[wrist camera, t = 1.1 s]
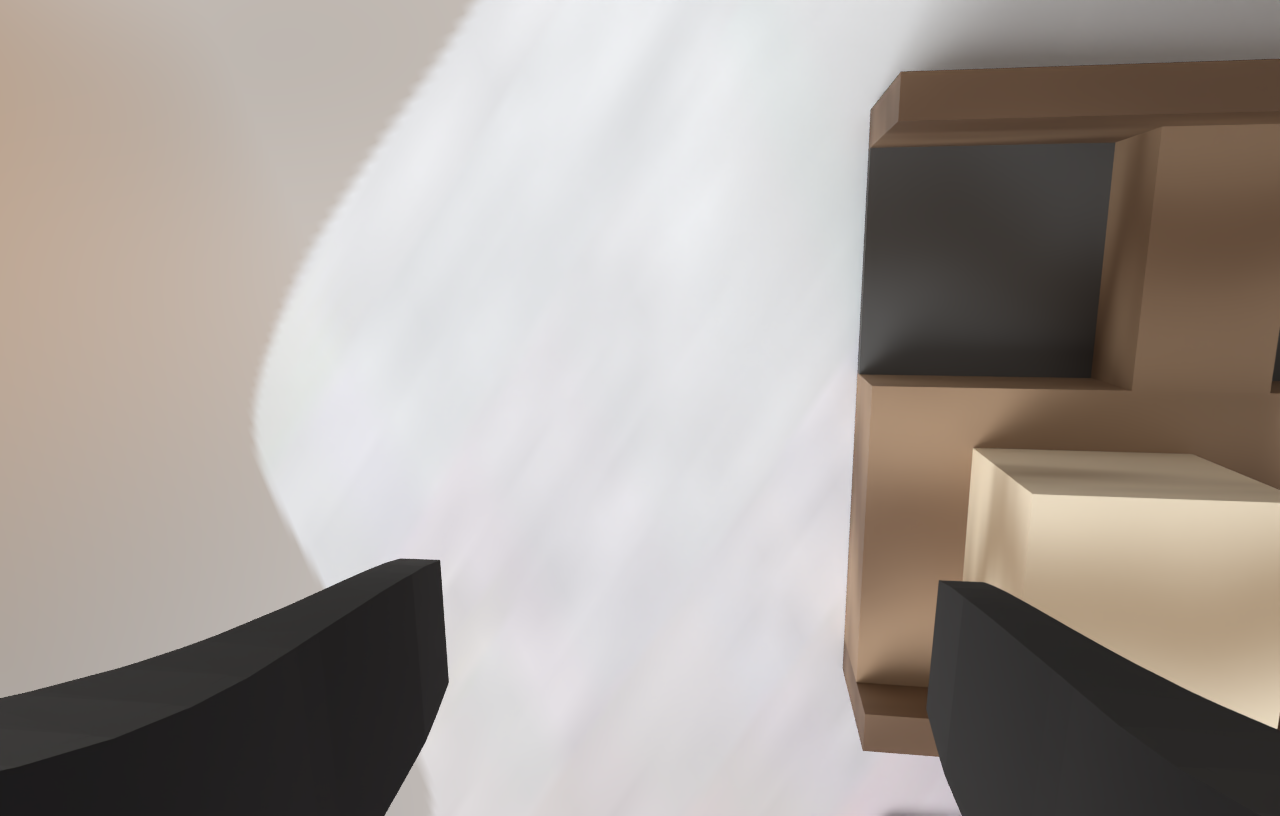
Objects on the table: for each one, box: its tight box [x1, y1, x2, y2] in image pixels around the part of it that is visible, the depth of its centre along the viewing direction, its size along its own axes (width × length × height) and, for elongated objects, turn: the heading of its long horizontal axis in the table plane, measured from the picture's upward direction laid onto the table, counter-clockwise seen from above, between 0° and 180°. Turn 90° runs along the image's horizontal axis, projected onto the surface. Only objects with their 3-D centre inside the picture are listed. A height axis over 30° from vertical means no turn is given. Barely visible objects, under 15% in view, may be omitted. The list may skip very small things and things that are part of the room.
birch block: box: [963, 448, 1280, 729], centre depth 17 cm, size 5×5×4 cm
